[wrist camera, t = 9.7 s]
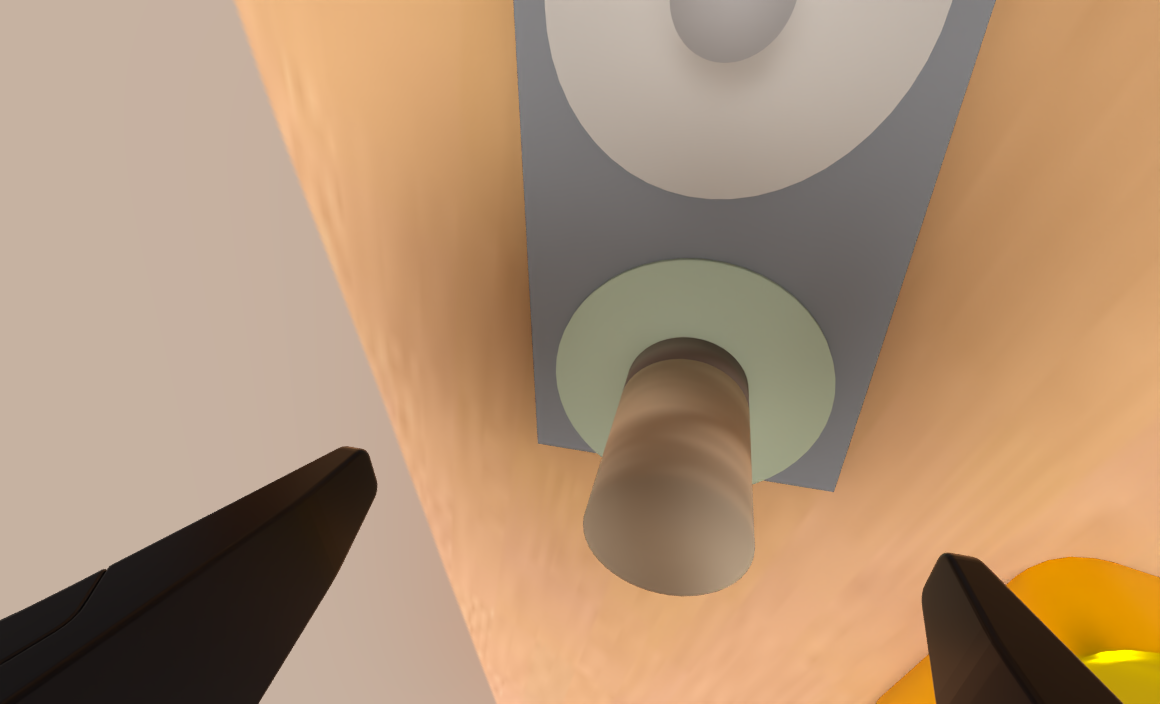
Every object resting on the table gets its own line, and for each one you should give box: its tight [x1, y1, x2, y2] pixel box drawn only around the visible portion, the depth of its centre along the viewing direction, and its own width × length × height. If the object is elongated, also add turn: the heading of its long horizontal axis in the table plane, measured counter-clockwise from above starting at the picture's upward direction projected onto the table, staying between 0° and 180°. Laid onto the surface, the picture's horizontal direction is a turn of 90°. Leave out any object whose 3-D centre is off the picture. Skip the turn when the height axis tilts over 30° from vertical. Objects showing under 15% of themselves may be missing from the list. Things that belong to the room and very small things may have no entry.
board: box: [513, 0, 996, 492], centre depth 15 cm, size 12×22×5 cm, turn 0°
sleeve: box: [583, 337, 755, 596], centre depth 17 cm, size 4×4×7 cm
